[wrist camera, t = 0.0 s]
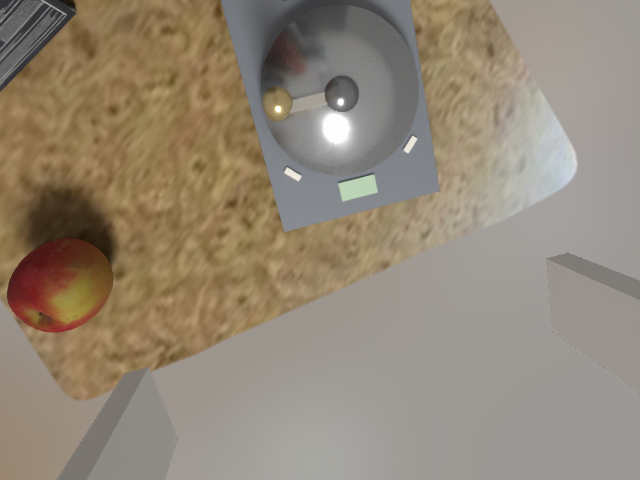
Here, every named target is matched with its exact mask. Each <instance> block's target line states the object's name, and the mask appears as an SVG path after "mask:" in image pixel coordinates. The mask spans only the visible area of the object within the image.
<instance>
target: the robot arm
mask: <svg viewBox="0 0 640 480" xmlns="http://www.w3.org/2000/svg"><path fill="white" fill-rule="evenodd" d="M546 265H547V277H548V289H549V300H550V313H551V325H552V333H554V334H555V335H557V336H558V337H559V338H561V339H562V340H564V341H565V342H567V343H568V344H569V345H571V346H572V347H574V348H575V349H577V350H578V351H580V352H581V353H582V354H584V355H585V356H587V357H588V358H590V359H591V360H592V361H594V362H595V363H597V364H598V365H600V366H601V367H603V368H604V369H605V370H607V371H608V372H610V373H611V374H612V375H614V376H615V377H617V378H618V379H620V380H621V381H622V382H624V383H625V384H627V385H628V386H630V387H631V388H633V389H634V390H635V391H637V392H638V393H640V281H639V280H637V279H634V278H631V277H629V276H626V275H624V274H621V273H619V272H616V271H613V270H611V269H608V268H605V267H603V266H601V265H598V264H596V263H593V262H590V261H588V260H585V259H583V258H580V257H578V256H575V255H572V254H570V253H565V254H562V255H558V256H554V257H551V258H547V259H546ZM177 439H178V437H177V435H176V432H175V429H174V427H173V425H172V422H171V420H170V418H169V415H168V412H167V410H166V408H165V405H164V403H163V400H162V398H161V395H160V393H159V391H158V388H157V386H156V383H155V381H154V379H153V376H152V374H151V371H150V369H149V367H147V368H143V369H139V370H136V371H132V372H128V373H125V374H124V375H123V376H122V378H121V380H120V381H119V383H118V384H117V386H116V387H115V389H114V391H113V392H112V394H111V395H110V397H109V398H108V400H107V402H106V403H105V405H104V407H103V408H102V409H101V411H100V413H99V414H98V416H97V418H96V419H95V420H94V422H93V424H92V425H91V427H90V428H89V430H88V432H87V433H86V435H85V436H84V438H83V439H82V441H81V442H80V444H79V446H78V447H77V449H76V450H75V452H74V454H73V455H72V457H71V458H70V460H69V461H68V463H67V465H66V466H65V468H64V469H63V471H62V472H61V474H60V476H59V477H58V479H57V480H165V477H166V474H167V471H168V467H169V464H170V461H171V458H172V455H173V452H174V449H175V446H176V442H177Z"/></svg>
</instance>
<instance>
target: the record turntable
mask: <svg viewBox="0 0 640 480" xmlns="http://www.w3.org/2000/svg"><path fill="white" fill-rule="evenodd" d="M221 3H222V6H223V10H224V13H225V17H226V21H227V24H228V28H229V32H230V35H231V39H232V43H233V46H234V50H235V54H236V57H237V61H238V65H239V68H240V72H241V75H242V79H243V83H244V86H245V90H246V94H247V97H248V101H249V105H250V108H251V112H252V116H253V119H254V123H255V126H256V130H257V134H258V137H259V141H260V145H261V148H262V152H263V156H264V159H265V163H266V167H267V170H268V174H269V178H270V181H271V185H272V188H273V192H274V196H275V199H276V203H277V207H278V210H279V214H280V218H281V221H282V225H283V229H284V232H286V231H290V230H293V229H297V228H301V227H305V226H309V225H312V224H316V223H320V222H324V221H328V220H332V219H335V218H339V217H343V216H347V215H351V214H355V213H358V212H362V211H366V210H370V209H374V208H377V207H381V206H385V205H389V204H393V203H397V202H400V201H404V200H408V199H412V198H416V197H419V196H423V195H427V194H431V193H435V192H439V191H440V189H439V183H438V176H437V170H436V163H435V157H434V151H433V144H432V138H431V132H430V125H429V119H428V112H427V106H426V100H425V93H424V87H423V80H422V74H421V68H420V61H419V55H418V49H417V42H416V36H415V29H414V23H413V17H412V10H411V4H410V0H221ZM330 5H349V6H356V7H359V8H363V9H366V10H368V11H370V12H372V13H375V14H377V15H378V16H380V17H381V18H383V19H384V20H386V21H387V22H388V23H389V24H390V25H391V26H393V27H394V28H395V30H396V31H397V32H398V33H399V34H400V35H401V37H402V38H403V40H404V41H405V43H406V44H407V46H408V48H409V50H410V52H411V54H412V56H413V59H414V62H415V65H416V69H417V74H418V81H419V99H418V106H417V111H416V115H415V118H414V121H413V124H412V126H411V129H410V130H409V132H408V134H407V136H406V138H405V139H404V141H403V142H402V143H401V145H400V146H399V147H398V148H397V149H396V150H395V152H394V153H393V154H392V155H390V156H389V157H388V158H387V159H386V160H384V161H383V162H381V163H380V164H378V165H377V166H375V167H373V168H371V169H369V170H366V171H363V172H360V173H356V174H351V175H328V174H323V173H319V172H316V171H313V170H311V169H308V168H306V167H304V166H303V165H301V164H299V163H298V162H296V161H295V160H293V159H292V158H291V157H290V156H289V155H288V154H287V153H286V152H284V150H283V149H282V148H281V147H280V146H279V145H278V143H277V142H276V140H275V139H274V137H273V136H272V134H271V132H270V130H269V128H268V126H267V123H266V120H265V117H264V114H263V110H262V105H261V95H260V86H261V76H262V70H263V66H264V63H265V60H266V57H267V55H268V53H269V51H270V48H271V46H272V45H273V43H274V42H275V40H276V39H277V37H278V36H279V35H280V33H281V32H282V31H283V30H284V29H285V28H286V27H287V26H288V25H289V24H290V23H291V22H292V21H294V20H295V19H297V18H298V17H300V16H301V15H303V14H305V13H307V12H309V11H311V10H314V9H317V8H320V7H324V6H330Z"/></svg>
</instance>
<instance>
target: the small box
mask: <svg viewBox="0 0 640 480" xmlns="http://www.w3.org/2000/svg"><path fill="white" fill-rule="evenodd" d="M75 14H76V10H75V8H74V7H73V6H72V4H71V3H69V2H68V1H67V0H0V91H1V90H2V89H3V88H4V87H5V86H6V85H7V84H8V83H9V82H10V81H11V80H12V79H13V78H14V77H15V76H16V75H17V74H18V73H19V72H20V71H21V70H22V69H23V68H24V67H25V66H26V65H27V64H28V63H29V62H30V61H31V60H32V59H33V57H34V56H35V55H36V54H37V53H38V52H39V51H40V50H41V49H42V48H43V47H44V46H45V45H46V44H47V43H48V42H49V41H50V40H51V39H52V38H53V37H54V36H55V35H56V34H57V33H58V32H59V31H60V30H61V29H62V28H63V27H64V25H65V24H66V23H67V22H68V21H69V20H70V19H71V18H72V17H73V16H74V15H75Z"/></svg>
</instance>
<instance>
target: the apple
mask: <svg viewBox="0 0 640 480" xmlns="http://www.w3.org/2000/svg"><path fill="white" fill-rule="evenodd" d="M112 285H113V273H112V269H111V266H110V264H109V262H108V260H107V258H106V257H105V255H104V254H103V253H102V252H101V251H100V250H99V249H98V248H96V247H95V246H93V245H92V244H90V243H88V242H86V241H83V240H79V239H75V238H62V239H57V240H53V241H50V242H48V243H45V244H43V245H41V246H39V247H38V248H36V249H35V250H33V251H32V252H31V253H29V254H28V255H27V256H26V257H25V258H24V259H23V260H22V261H21V262H20V263H19V265H18V266H17V268H16V269H15V271H14V272H13V274H12V276H11V279H10V281H9V285H8V290H7V300H8V303H9V306H10V308H11V309H12V311H13V312H14V313H15V314H16V316H18V317H19V318H20V319H21V320H22V321H23V322H24V323H26V324H27V325H29V326H31V327H33V328H35V329H38V330H41V331H44V332H55V333H56V332H64V331H68V330H72V329H74V328H77V327H79V326H81V325H82V324H84V323H86V322H87V321H89V320H90V319H91V318H92V317H94V316H95V315H96V314H97V313H98V312H99V311H100V310H101V308H102V307H103V306H104V304H105V302H106V301H107V299H108V297H109V295H110V292H111V289H112Z"/></svg>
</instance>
